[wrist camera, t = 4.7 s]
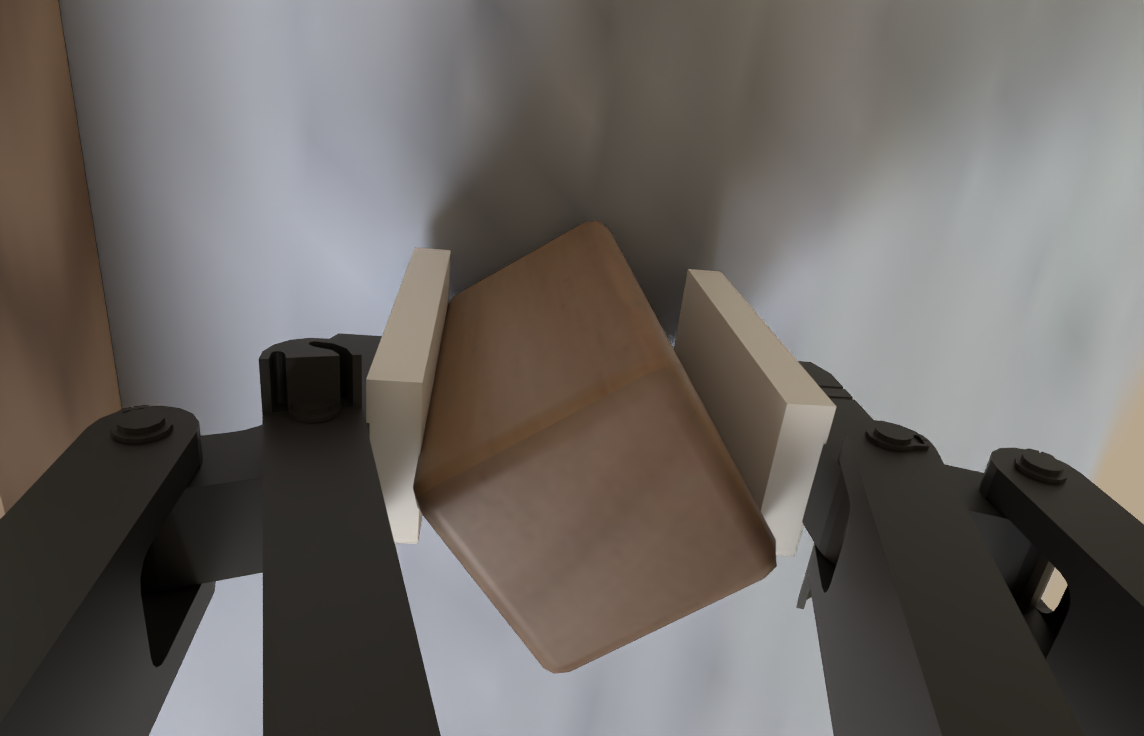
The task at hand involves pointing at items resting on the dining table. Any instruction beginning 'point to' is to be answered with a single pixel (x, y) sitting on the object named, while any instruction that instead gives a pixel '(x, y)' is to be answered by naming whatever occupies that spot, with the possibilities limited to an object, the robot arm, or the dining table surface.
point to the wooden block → (580, 458)
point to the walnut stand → (45, 258)
